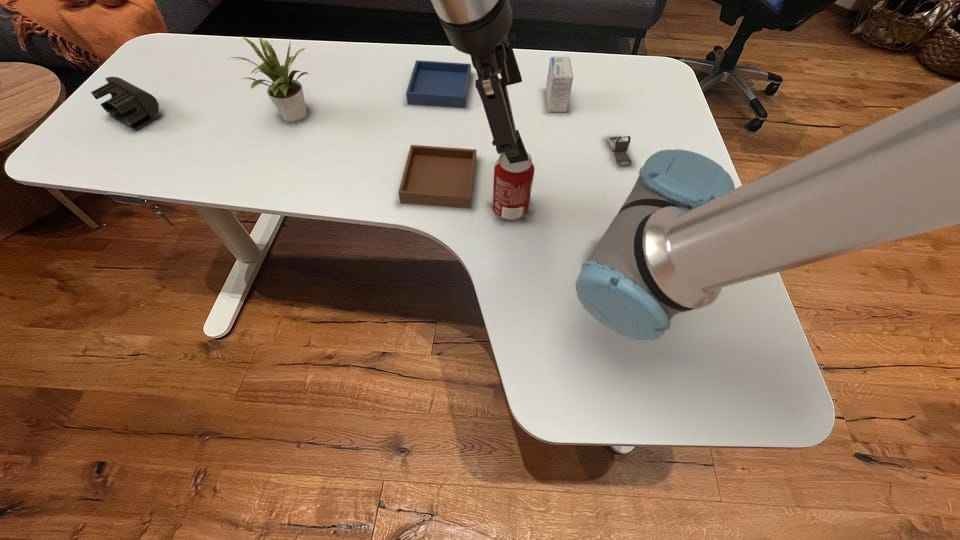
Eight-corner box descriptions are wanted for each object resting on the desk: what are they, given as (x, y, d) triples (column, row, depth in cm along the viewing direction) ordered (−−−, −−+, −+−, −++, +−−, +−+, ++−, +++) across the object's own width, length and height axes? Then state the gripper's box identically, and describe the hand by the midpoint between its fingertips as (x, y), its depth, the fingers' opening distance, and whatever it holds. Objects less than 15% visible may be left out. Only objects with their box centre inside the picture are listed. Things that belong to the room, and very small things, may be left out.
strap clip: (605, 140, 93) (610, 123, 89) (619, 138, 93) (625, 122, 90) (617, 167, 88) (624, 151, 85) (632, 166, 88) (638, 149, 85)
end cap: (167, 114, 95) (148, 86, 89) (137, 132, 91) (115, 104, 86) (138, 99, 98) (118, 71, 92) (108, 115, 94) (85, 87, 89)
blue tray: (465, 108, 98) (465, 97, 96) (407, 104, 98) (406, 93, 96) (470, 74, 105) (471, 63, 103) (417, 71, 106) (415, 60, 104)
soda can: (525, 225, 79) (533, 177, 69) (488, 219, 80) (491, 170, 70) (530, 198, 83) (538, 149, 73) (495, 193, 83) (498, 143, 74)
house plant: (240, 121, 94) (202, 47, 80) (285, 88, 101) (256, 14, 87) (292, 142, 90) (260, 68, 77) (334, 106, 97) (312, 33, 84)
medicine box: (566, 112, 98) (574, 77, 91) (546, 112, 98) (552, 76, 91) (563, 91, 102) (570, 56, 95) (544, 91, 102) (550, 55, 95)
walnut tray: (470, 208, 81) (470, 198, 79) (400, 203, 82) (398, 192, 79) (476, 160, 89) (476, 149, 86) (412, 155, 89) (410, 144, 87)
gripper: (435, -75, 50) (488, 58, 69) (437, 108, 42) (495, 200, 62) (498, -99, 48) (534, 45, 67) (512, 89, 40) (548, 190, 60)
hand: (516, 119), depth 64 cm, fingers open, 13 cm apart
